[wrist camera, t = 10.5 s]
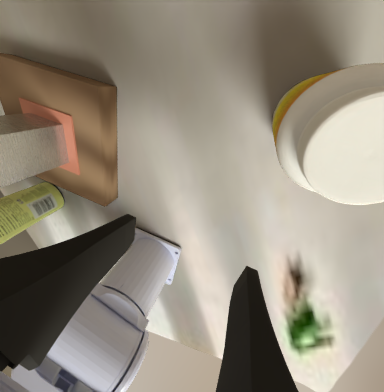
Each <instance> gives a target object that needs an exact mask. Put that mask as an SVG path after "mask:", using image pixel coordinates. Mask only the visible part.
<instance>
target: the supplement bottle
mask: <svg viewBox="0 0 384 392" xmlns="http://www.w3.org/2000/svg"><path fill="white" fill-rule="evenodd" d="M272 129H273V135H274V141H275V146H276V151H277V156H278V160H279V163H280V165H281V167H282V169H283V171H284V172H285V173H286V175H287V176H288V177H289V178H290V179H291V180H292V181H293V182H295V183H296V184H297V185H299V186H301V187H303V188H305V189H307V190H310V191H313V192H317V193H319V194H320V195H322V196H323V197H325V198H327V199H330V200H332V201H335V202H339V203H343V204H352V205H366V204H374V203H380V202H384V63H373V64H363V65H356V66H352V67H348V68H345V69H341V70H337V71H334V72H330V73H326V74H322V75H318V76H314V77H311V78H308V79H306V80H304V81H302V82H300V83H298V84H297V85H295V86H294V87H292V88H291V89H290V90H289V91H288V92H287V93H286V94H285V95H284V96H283V97H282V99H281V100H280V101H279V103H278V105H277V107H276V109H275V112H274V115H273V120H272Z"/></svg>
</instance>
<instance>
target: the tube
mask: <svg viewBox="0 0 384 392" xmlns="http://www.w3.org/2000/svg"><path fill="white" fill-rule="evenodd" d="M63 205H64V200H63V197H62V195H61V193H60V192H59V190H58V189H57V188H56V187H55V186H53V185H52V184H50V183H48V182H43V183H40V184H38V185H35V186H32V187H30V188H27V189H24V190H22V191H19V192H16V193H13V194H11V195H8V196H5V197H2V198H0V244H2V243H4V242H5V241H7V240H9V239H10V238H12V237H13V236H15V235H16V234H18V233H20V232H21V231H23V230H25V229H26V228H28V227H30V226H31V225H33V224H35V223H36V222H38V221H40V220H41V219H43V218H45V217H46V216H48V215H50V214H52V213H53V212H55V211H57V210H58V209H60V208H62V207H63Z"/></svg>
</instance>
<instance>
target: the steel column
mask: <svg viewBox="0 0 384 392" xmlns="http://www.w3.org/2000/svg"><path fill="white" fill-rule="evenodd" d="M67 163H69V157H68V152H67V146H66V140H65V134H64V128H63V124H60V123H57V122H54V121H52V120H49V119H46V118H43V117H41V116H38V115H35V114H32V113H23V114H13V115H3V116H0V187H1V188H2V187H4V186H7V185H10V184H13V183H15V182H18V181H21V180H23V179H26V178H29V177H32V176H34V175H37V174H40V173H42V172H45V171H48V170H51V169H53V168H56V167H59V166H61V165H64V164H67Z"/></svg>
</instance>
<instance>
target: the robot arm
mask: <svg viewBox="0 0 384 392" xmlns="http://www.w3.org/2000/svg"><path fill="white" fill-rule="evenodd" d="M135 224H136V217H133V216H131V215H129V214H126V215H124V216H122V217H120V218H118V219H116V220H114V221H111V222H109V223H107V224H105V225H103V226H101V227H98V228H96V229H94V230H92V231H89V232H87V233H84V234H82V235H80V236H77V237H75V238H72V239H69V240H67V241H64V242H61V243H58V244H55V245H52V246H48V247H45V248H41V249H38V250H34V251H30V252H27V253H23V254H19V255H15V256H10V257H5V258H1V259H0V392H126V390H127V389H128V387H129V386H130V384H131V383H132V381H133V379H134V378H135V376H136V374H137V372H138V370H139V368H140V366H141V364H142V362H143V360H144V357H145V355H146V351H147V348H148V343H149V341H148V331H147V330H145V328H146V326H147V324H148V322H149V320H148V319H146V318H147V316H148V314H149V313H150V311H151V309H152V307H153V305H154V303H155V301H156V299H157V297H158V296H159V294H160V292H161V290H162V288H163V286H164V284H165V283H167V284H169V285H170V284H171V283H172V281H173V277H174V274H175V270H176V267H177V263H178V260H179V256H180V253H181V248H180V247H178V246H176V245H174V244H171V243H169V242H167V241H165V240H162V239H160V238H158V237H156V236H153V235H151V234H149V233H147V232H144V231H142V230H140V229H138V228H135ZM131 244H132V246H131V247H130V245H131ZM129 247H130V248H129ZM128 248H129V250H128ZM127 250H128V251H127ZM126 251H127V252H126ZM125 252H126V253H125ZM122 256H123V257H122ZM121 257H122V258H121ZM120 258H121V259H120ZM119 259H120V260H119ZM118 260H119V261H118ZM116 263H117V264H116ZM115 264H116V265H115ZM114 265H115V266H114ZM113 266H114V267H113ZM112 267H113V268H112ZM111 268H112V269H111ZM110 269H111V270H110ZM109 270H110V272H109V273H108V271H109ZM107 273H108V274H107ZM106 274H107V275H106ZM105 275H106V276H105ZM104 276H105V277H104ZM103 277H104V279H103V280H102V281H101V282H100V283H99V281H100V280H101V279H102V278H103ZM7 365H8V366H9V367H11V368H12V373H11V378H10V377H8V376H7V375H5V374H4V373H3V372H2V371H3V370H4V369H5V368H6V366H7ZM216 392H298V390H297V388H296V385H295V383H294V381H293V378H292V376H291V374H290V371H289V369H288V367H287V364H286V362H285V359H284V357H283V354H282V352H281V349H280V346H279V344H278V341H277V338H276V335H275V332H274V329H273V327H272V323H271V320H270V317H269V314H268V310H267V307H266V303H265V300H264V296H263V292H262V288H261V284H260V279H259V275H258V271H257V270H255V269H252V268H250V267H248V266H246V268H245V269H244V271H243V272H242V274H241V275H240V277H239V278H238V280H237V282H236V283H235V285H234V288H233V292H232V296H231V301H230V306H229V314H228V323H227V331H226V339H225V348H224V354H223V360H222V365H221V369H220V374H219V379H218V384H217V388H216Z"/></svg>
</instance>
